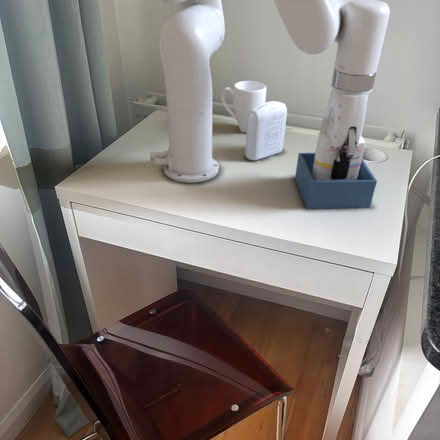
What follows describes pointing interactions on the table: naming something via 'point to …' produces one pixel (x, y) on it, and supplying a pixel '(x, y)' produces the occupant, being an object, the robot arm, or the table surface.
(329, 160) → the ink box
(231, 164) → the table surface
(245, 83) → the mug
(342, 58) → the robot arm
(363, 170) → the holder
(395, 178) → the table surface
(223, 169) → the table surface
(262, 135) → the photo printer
